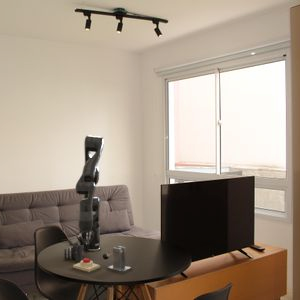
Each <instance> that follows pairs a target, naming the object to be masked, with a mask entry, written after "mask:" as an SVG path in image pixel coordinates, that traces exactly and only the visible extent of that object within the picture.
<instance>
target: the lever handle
mask: <svg viewBox="0 0 300 300" xmlns="http://www.w3.org/2000/svg"><path fill="white" fill-rule="evenodd" d="M119 249H121V253H122V252H123V251H122V248H119ZM111 256H113V252H110V253H103V254H102V259H104V260H106V261H107V260H108V259H109V257H111Z"/></svg>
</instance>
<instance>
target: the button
mask: <svg viewBox="0 0 300 300" xmlns="http://www.w3.org/2000/svg"><path fill="white" fill-rule="evenodd" d="M82 260H83V262H84V263H89V262H90V260H91V258H88V257H84V258H82Z"/></svg>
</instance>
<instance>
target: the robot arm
mask: <svg viewBox="0 0 300 300" xmlns="http://www.w3.org/2000/svg"><path fill="white" fill-rule="evenodd" d="M83 142H84V144H83V147H84V149H83V150H84V165H83V168H82V173H81V175H80V177H79V178H78V180H77V182H76V184H75V192H76V194H77V195H81V196H82V199H79V200H78V201H79V202H78V228H79V234H78V235H76V239H77V241H79V242H80V244H83V249H82V251H83V252H84V253H88V252H96V251H100V250H101V236H100V235H101V231H100V230H101V229H100V228H101V227H100V225H101V224H100V223H101V222H100V209H101V200H100V197H99V196H95V193H96V187H97V184H98V183H99V181H100V169H99V166H98V164H99V161H100V159H101V157H102V153H103V151H104V145H105V140H104V137H103V136H97V135H86V136H85V137H84V141H83ZM92 153H94V154H93V155H92ZM64 241H65V242H68V243H69V244H70V245H72V246H73V244H74V243H73V241H72V240H70V239H67V238H66V239H65V238H64V239H62V240H61V242H62V243H63V242H64Z"/></svg>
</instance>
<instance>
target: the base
mask: <svg viewBox="0 0 300 300" xmlns="http://www.w3.org/2000/svg"><path fill="white" fill-rule="evenodd" d="M119 248H122V251H123V252H122V253H121V249H119ZM112 253H113V255H112V265H110V266H107V267H106V269H109V270H113V271H115V272H116V271H117V272H119V273H120V272H121V273H124V272H126V271H129V270H131V269H132V267H131V266H127V265H126V247H125V246H121V245H117V246H116V247H112Z"/></svg>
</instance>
